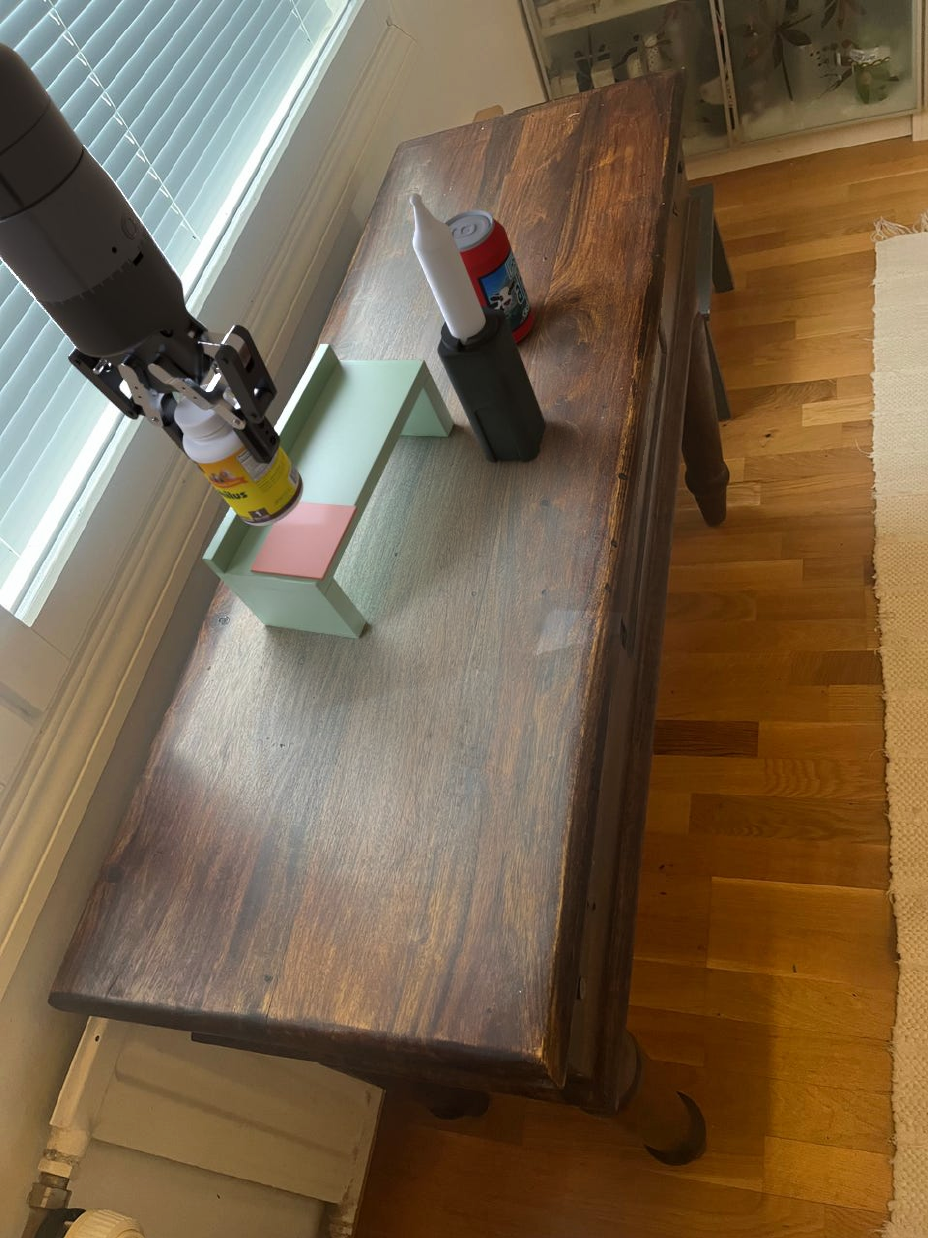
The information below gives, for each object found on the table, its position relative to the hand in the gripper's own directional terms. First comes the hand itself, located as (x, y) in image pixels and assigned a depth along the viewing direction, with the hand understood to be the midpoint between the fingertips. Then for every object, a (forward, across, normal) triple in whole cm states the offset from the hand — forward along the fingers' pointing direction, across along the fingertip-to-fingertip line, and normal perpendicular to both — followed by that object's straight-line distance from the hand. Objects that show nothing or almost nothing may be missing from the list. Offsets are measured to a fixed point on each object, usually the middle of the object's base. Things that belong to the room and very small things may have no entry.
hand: (235, 451), depth 66 cm
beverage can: (+19, +4, +32) cm, 37 cm away
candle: (+19, +10, +18) cm, 28 cm away
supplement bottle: (+6, 0, 0) cm, 6 cm away
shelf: (+19, -2, +8) cm, 20 cm away
